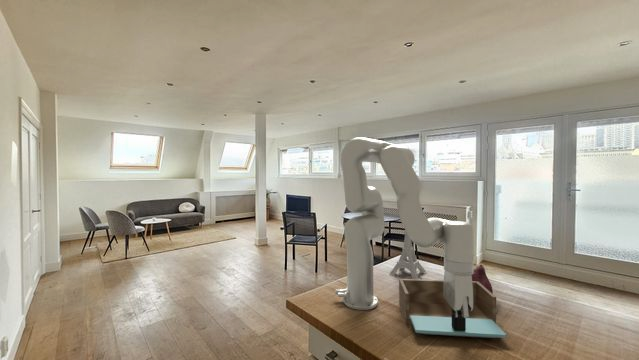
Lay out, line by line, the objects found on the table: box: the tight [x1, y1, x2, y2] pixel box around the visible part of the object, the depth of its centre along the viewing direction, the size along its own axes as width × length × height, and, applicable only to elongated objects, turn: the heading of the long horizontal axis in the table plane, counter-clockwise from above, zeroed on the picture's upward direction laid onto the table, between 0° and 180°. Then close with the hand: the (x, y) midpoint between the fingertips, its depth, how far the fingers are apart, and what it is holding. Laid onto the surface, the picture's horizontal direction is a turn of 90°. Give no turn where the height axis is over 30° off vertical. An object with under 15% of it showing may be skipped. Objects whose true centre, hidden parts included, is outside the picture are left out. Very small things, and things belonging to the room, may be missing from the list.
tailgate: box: [410, 315, 507, 339], centre depth 80 cm, size 24×1×8 cm
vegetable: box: [471, 264, 494, 295], centre depth 101 cm, size 10×10×15 cm
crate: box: [398, 278, 497, 325], centre depth 90 cm, size 27×12×10 cm, turn 83°
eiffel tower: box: [388, 229, 428, 280], centre depth 128 cm, size 13×13×30 cm
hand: (458, 329), depth 77 cm, fingers closed
